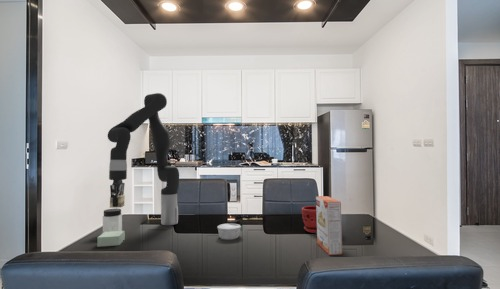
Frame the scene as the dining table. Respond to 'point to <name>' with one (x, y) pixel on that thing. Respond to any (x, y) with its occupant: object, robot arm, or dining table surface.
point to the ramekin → (229, 231)
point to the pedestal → (111, 238)
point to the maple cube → (120, 201)
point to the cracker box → (329, 225)
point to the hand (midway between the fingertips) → (117, 205)
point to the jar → (112, 220)
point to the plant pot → (312, 221)
